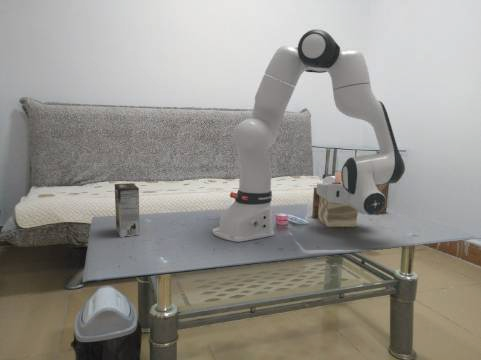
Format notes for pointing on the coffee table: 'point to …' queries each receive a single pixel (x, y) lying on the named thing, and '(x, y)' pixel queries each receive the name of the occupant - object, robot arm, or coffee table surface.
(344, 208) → the socket block
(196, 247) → the coffee table surface
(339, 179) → the dowel
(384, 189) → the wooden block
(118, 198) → the coffee box
